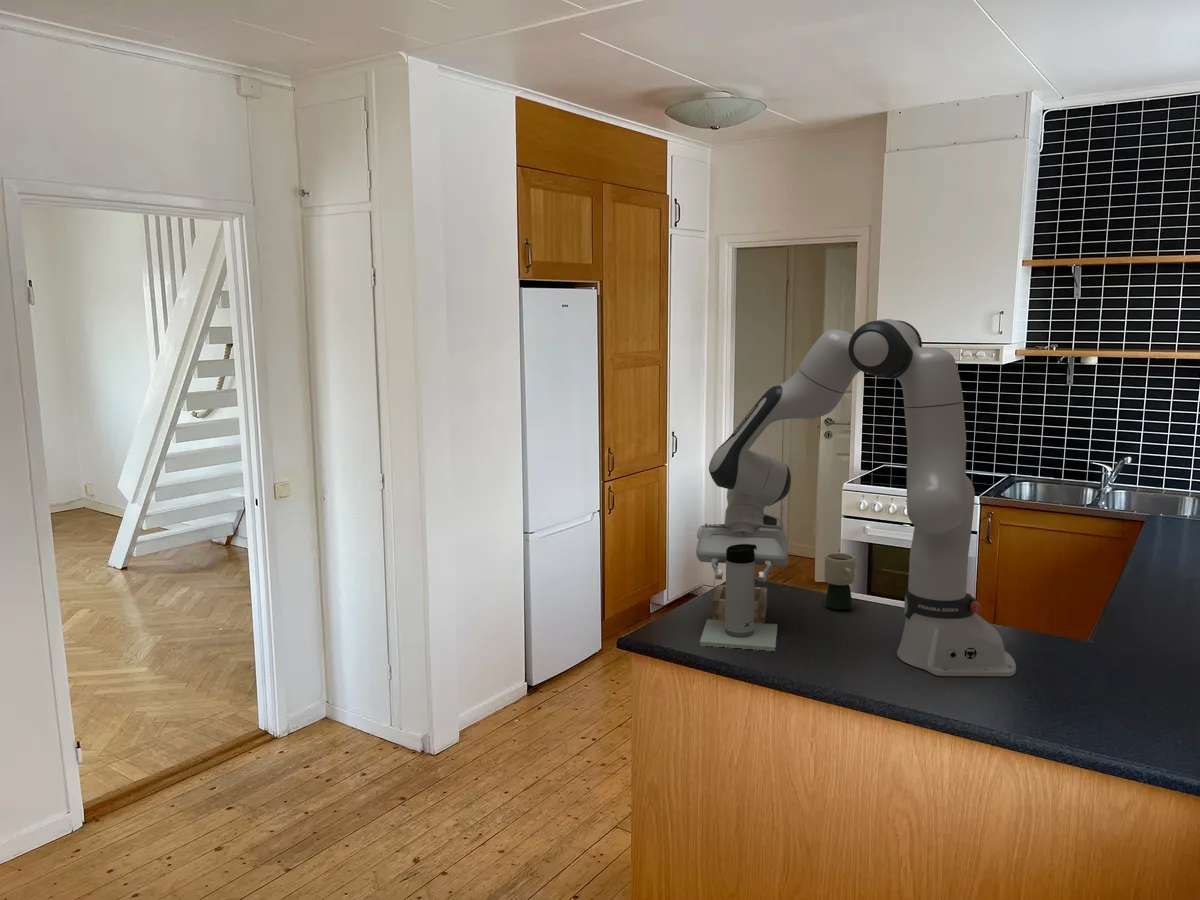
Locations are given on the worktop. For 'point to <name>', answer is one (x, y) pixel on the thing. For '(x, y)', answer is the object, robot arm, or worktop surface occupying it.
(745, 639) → the sage mat
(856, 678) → the worktop surface
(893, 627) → the worktop surface
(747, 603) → the travel mug
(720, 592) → the birch holder
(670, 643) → the worktop surface
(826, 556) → the character mug
